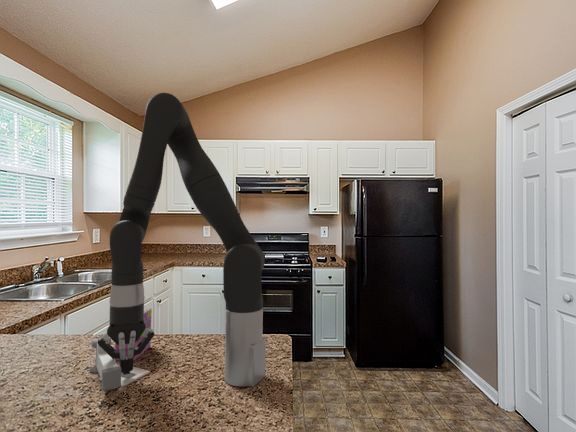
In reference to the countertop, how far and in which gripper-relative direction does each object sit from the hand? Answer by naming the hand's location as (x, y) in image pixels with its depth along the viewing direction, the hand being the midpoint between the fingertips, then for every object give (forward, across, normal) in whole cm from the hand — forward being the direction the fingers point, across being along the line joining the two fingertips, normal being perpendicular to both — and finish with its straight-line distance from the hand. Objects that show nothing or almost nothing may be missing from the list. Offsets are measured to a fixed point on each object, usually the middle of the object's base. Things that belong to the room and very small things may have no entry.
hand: (126, 373), depth 79 cm
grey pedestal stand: (+2, +5, -9) cm, 11 cm away
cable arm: (0, +4, -3) cm, 5 cm away
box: (+2, -3, -17) cm, 17 cm away
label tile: (+2, 0, -2) cm, 3 cm away
